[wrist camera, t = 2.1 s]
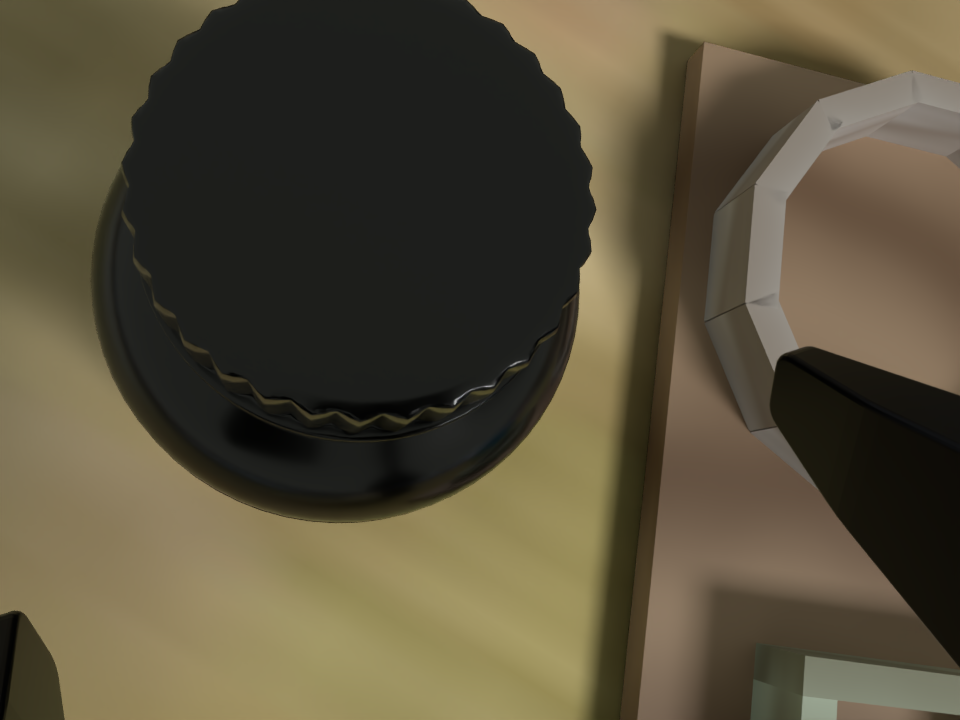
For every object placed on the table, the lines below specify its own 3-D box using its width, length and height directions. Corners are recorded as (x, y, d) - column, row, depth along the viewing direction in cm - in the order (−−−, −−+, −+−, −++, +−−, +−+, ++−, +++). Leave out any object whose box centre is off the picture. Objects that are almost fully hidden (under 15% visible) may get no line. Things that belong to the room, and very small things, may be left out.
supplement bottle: (133, 266, 20) (-83, -87, 8) (420, 197, 22) (574, -176, 10) (217, 563, 19) (111, 632, 8) (507, 467, 21) (782, 402, 9)
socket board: (1060, 1088, 21) (1184, 1178, 18) (583, 1071, 19) (637, 1171, 16) (1065, 158, 26) (1163, 113, 23) (687, 60, 24) (742, -3, 21)
